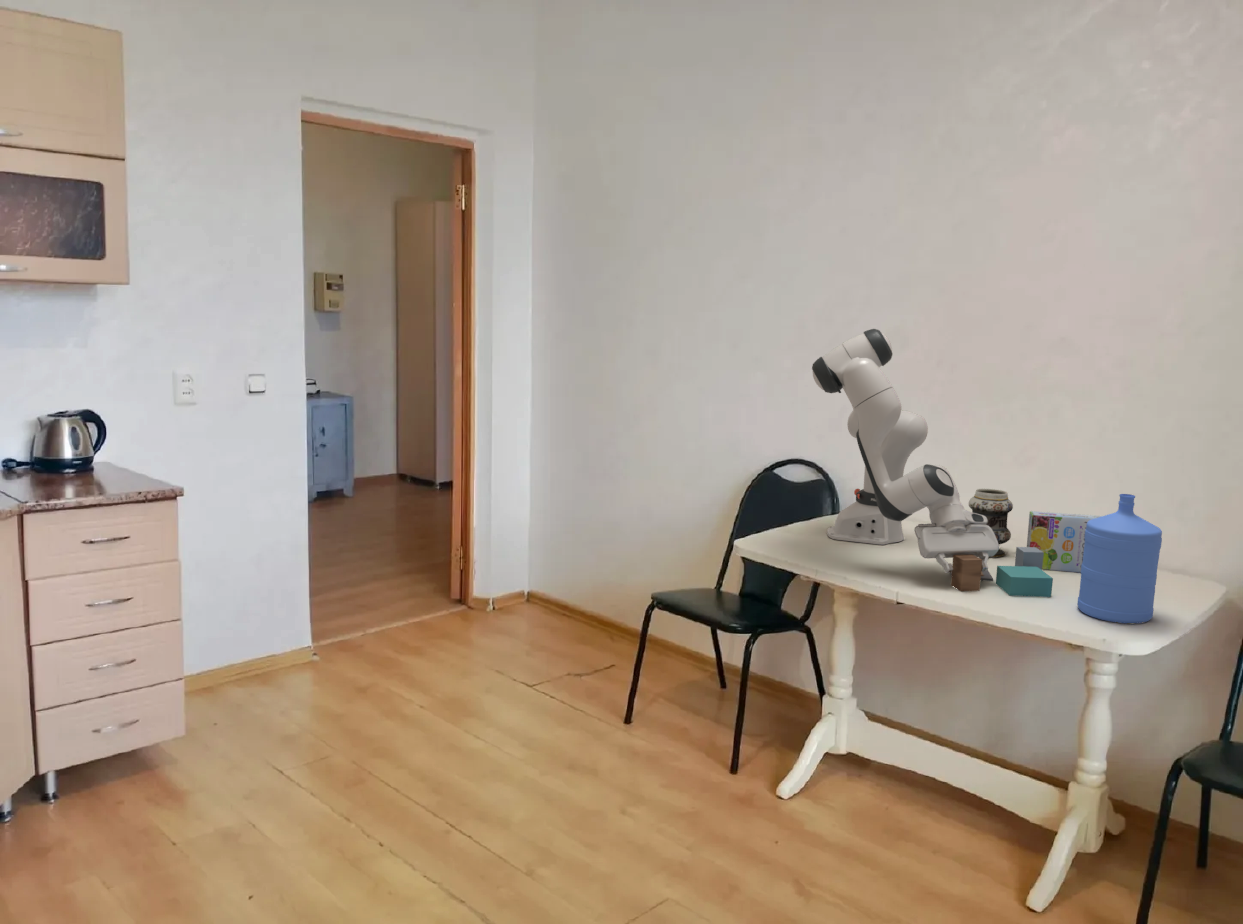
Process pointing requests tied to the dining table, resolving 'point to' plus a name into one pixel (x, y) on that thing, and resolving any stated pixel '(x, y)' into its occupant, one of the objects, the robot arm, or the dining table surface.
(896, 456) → the robot arm
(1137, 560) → the water jug
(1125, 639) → the dining table surface
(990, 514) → the apothecary jar
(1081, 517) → the snack box
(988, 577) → the card
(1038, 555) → the slate grey block
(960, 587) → the walnut block
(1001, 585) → the teal base block
